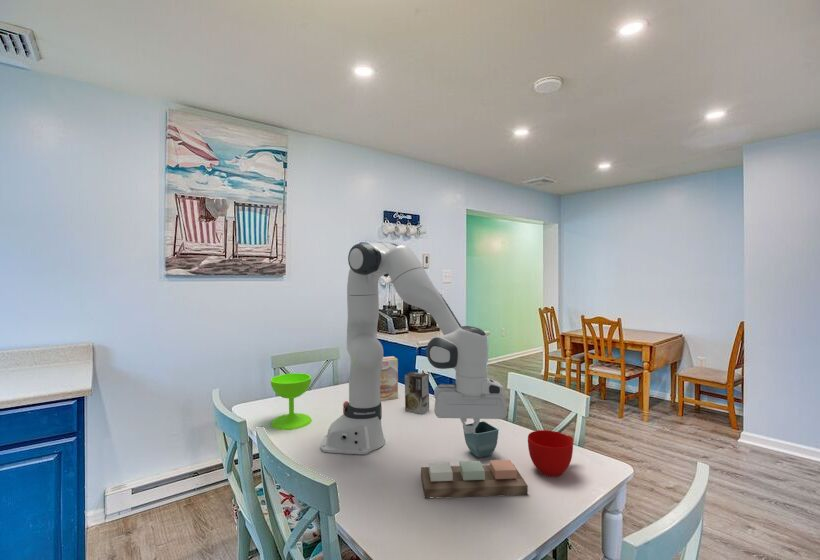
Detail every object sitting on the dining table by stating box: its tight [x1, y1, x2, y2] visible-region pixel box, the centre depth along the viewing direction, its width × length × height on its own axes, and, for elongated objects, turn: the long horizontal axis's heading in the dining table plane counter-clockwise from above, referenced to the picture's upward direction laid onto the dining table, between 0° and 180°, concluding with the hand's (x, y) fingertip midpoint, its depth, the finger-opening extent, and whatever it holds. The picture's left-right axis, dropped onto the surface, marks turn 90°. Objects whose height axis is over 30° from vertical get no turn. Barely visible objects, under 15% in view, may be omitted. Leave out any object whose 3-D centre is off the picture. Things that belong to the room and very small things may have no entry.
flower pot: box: [462, 420, 500, 458], centre depth 132 cm, size 9×9×9 cm
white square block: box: [428, 461, 453, 482], centre depth 112 cm, size 6×6×5 cm
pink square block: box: [489, 459, 518, 480], centre depth 113 cm, size 6×6×5 cm
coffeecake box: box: [380, 355, 399, 402], centre depth 191 cm, size 15×7×20 cm, turn 111°
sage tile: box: [458, 460, 485, 481], centre depth 112 cm, size 6×6×5 cm
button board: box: [420, 463, 529, 499], centre depth 112 cm, size 28×12×2 cm, turn 93°
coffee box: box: [404, 371, 430, 415], centre depth 173 cm, size 9×6×16 cm
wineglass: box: [270, 372, 313, 431], centre depth 161 cm, size 16×16×18 cm
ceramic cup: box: [527, 429, 574, 478], centre depth 121 cm, size 13×17×10 cm
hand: (469, 433), depth 112 cm, fingers closed
